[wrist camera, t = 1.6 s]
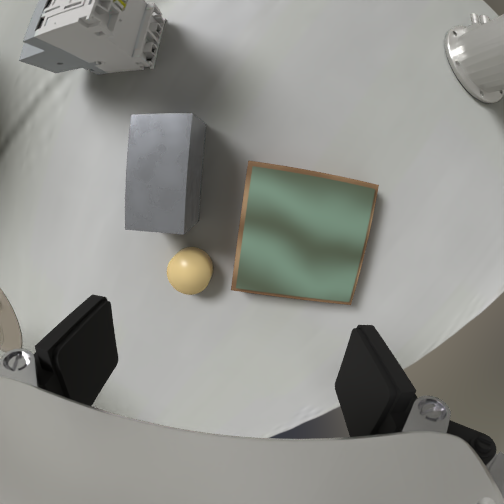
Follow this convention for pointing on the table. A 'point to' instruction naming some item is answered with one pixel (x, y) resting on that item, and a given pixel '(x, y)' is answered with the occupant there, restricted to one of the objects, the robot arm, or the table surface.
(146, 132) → the block
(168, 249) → the table surface
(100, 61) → the circuit breaker
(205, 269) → the cream dome
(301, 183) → the green board with frame
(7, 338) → the lamp
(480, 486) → the robot arm
